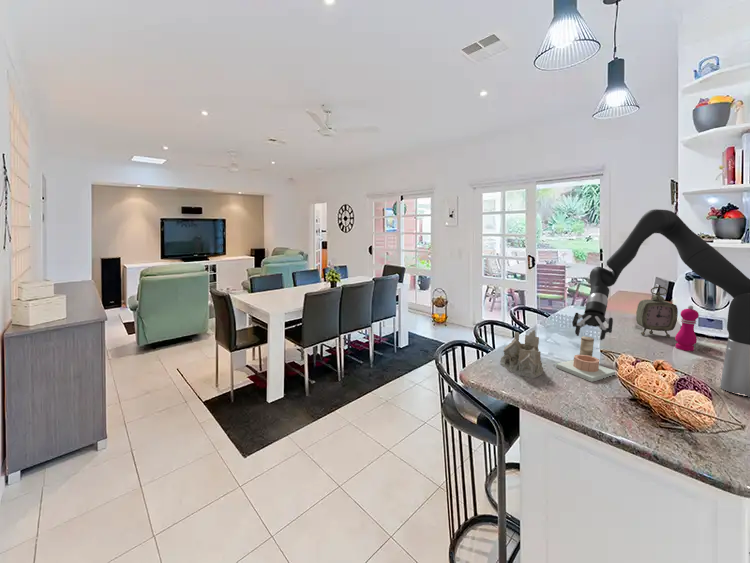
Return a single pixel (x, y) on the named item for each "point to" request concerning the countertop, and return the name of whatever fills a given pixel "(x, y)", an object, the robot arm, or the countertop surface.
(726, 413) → the countertop surface
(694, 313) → the pepper mill
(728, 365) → the robot arm
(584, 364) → the flat grey base plate
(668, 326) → the tabletop clock
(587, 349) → the birch plug
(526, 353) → the grey-brown toy castle
